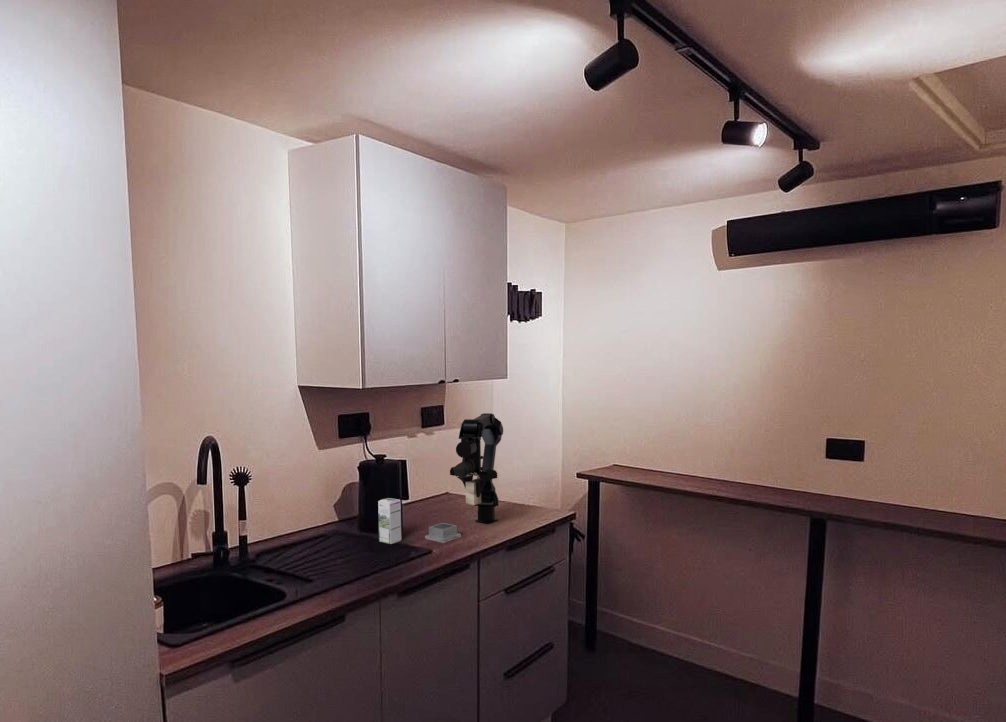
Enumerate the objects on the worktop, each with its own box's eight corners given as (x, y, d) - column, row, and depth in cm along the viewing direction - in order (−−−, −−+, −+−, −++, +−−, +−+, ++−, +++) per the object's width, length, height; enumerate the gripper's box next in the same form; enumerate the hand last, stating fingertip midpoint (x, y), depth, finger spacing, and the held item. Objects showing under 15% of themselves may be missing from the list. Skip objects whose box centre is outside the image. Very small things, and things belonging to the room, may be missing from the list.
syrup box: (402, 540, 212) (401, 498, 212) (389, 544, 208) (389, 502, 208) (390, 538, 216) (389, 497, 216) (378, 542, 211) (377, 500, 211)
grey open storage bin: (443, 532, 221) (442, 521, 221) (461, 536, 216) (460, 525, 216) (425, 538, 214) (424, 527, 214) (443, 542, 209) (443, 531, 209)
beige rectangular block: (473, 501, 225) (472, 480, 225) (481, 503, 222) (481, 481, 222) (465, 503, 222) (465, 481, 222) (474, 505, 219) (473, 482, 219)
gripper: (439, 454, 221) (439, 497, 221) (477, 458, 210) (478, 504, 210) (459, 450, 230) (460, 491, 230) (498, 454, 218) (498, 498, 218)
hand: (473, 496), depth 222 cm, fingers closed on beige rectangular block, 4 cm apart
